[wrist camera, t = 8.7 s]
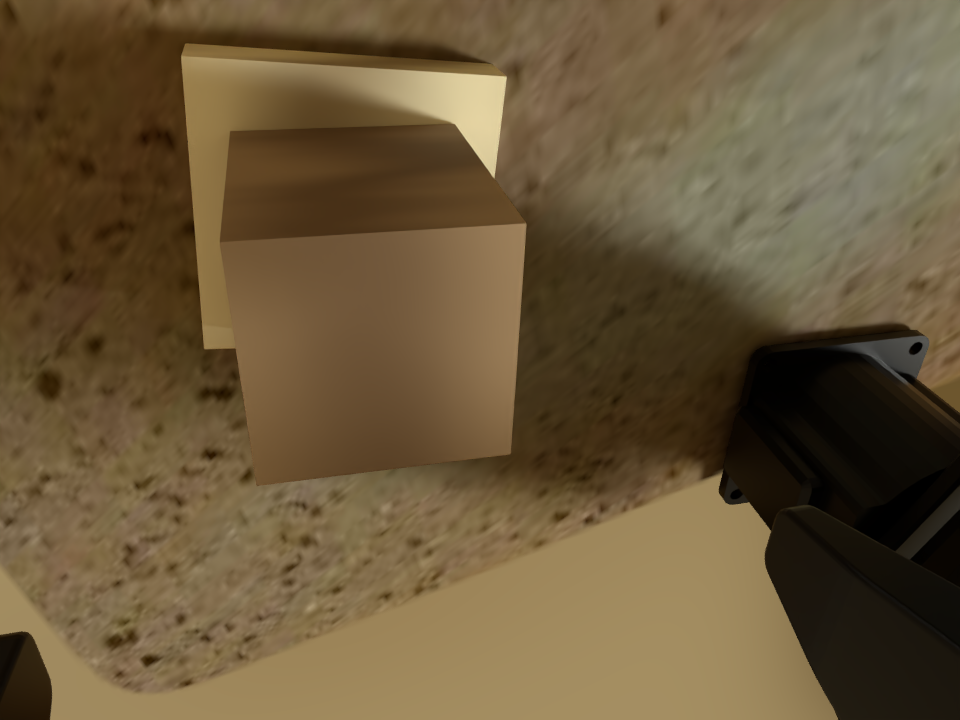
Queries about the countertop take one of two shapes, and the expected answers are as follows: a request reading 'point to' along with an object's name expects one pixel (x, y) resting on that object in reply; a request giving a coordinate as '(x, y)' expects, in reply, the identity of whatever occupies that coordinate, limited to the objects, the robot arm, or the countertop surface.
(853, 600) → the robot arm
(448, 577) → the countertop surface
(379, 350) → the walnut cube
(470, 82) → the birch block
